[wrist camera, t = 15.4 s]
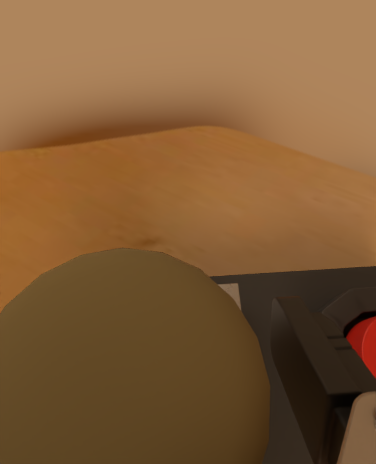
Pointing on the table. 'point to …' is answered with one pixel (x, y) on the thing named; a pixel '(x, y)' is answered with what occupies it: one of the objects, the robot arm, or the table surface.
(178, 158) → the table surface
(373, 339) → the button
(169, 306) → the olive pawn piece
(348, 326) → the machine
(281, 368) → the robot arm
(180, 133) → the table surface
